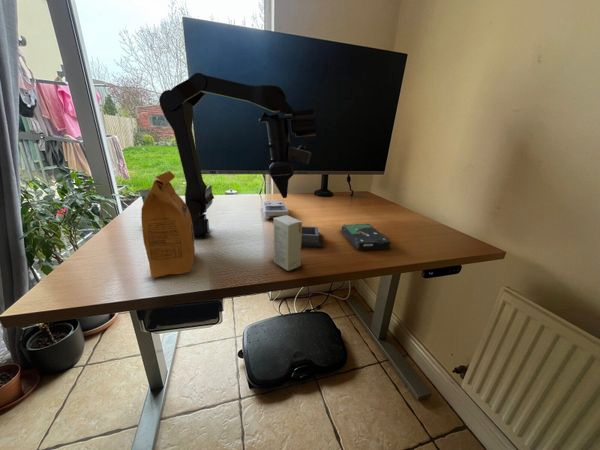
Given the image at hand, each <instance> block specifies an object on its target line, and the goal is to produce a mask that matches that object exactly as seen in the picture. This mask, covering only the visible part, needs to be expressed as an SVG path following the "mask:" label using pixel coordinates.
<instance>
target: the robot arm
mask: <svg viewBox="0 0 600 450" xmlns="http://www.w3.org/2000/svg"><path fill="white" fill-rule="evenodd" d="M207 94H211V95H215V96H220V97H223V98H224V97H225V98H229V99H233V100H238V101H243V102H247V103H251V104H253V105H256V106H257V107H259V108H262V109H264V110H267V111H269V112H270V113H271V112H272V113H275V114H267V112H265V111H264V112H263V113H262V115H261V117H260V118H259V119H258V122H259V123H266V127H267V137H268V148H269V155H270V165H269V167H268V171H269V176H270V178H271V180H272V181H273V183H274V184H275V186H276V188H277V190H278V192H279V194H280V195H281V197H282V198H283V199H287V198H288V191H289V190H288V189H289V180H290V179H291V178H292V177H293V176H294V174H295V173H294V172H295V171H294V163H293V162H294V161H296V162H299V163H300V162H301V163H303V164H305V165H309V163H310V159H311V156H312V152H311V151H309V150H307V148H306V146H303V145H299V146H298V147H293V146H292V142H291V140H290V133H291V134H292V135H293V134H294V136H295V138H301V137H302V138H304V137H315V136H317V120H316V116H315V109H314V108H312V107H311V108H307V109H300V110H299V109H298V110H294V109H293V106H291V105H290V104H289V103H288V101H287V99H286V94H285V91H284V90H283V88H282V87H280V86H278V85H274V84H256V85H255V84H254V85H252V84H251V85H250V84H245V83H241V82H238V81H237V82H236V81H232V80H228V79H224V78H220V77H214V76H211V75H206V74H204V73H201V72H194V73H193V74H192V75H191V76H189V78H187V79H186V80H183V81H182V82H180V83H178V84H176V85H175V86H174V87H173V88H171V89H167V90H164V91H162V93H161V94H160V95H159V97H158V103H159V106H160V109H161V111H162V114H163V116H164V119H165V120H166V122H167V123H168V125H169V126H170V128H171V129H172V131H173V135H174V139H175V142H176V147H177V152H178V155H179V159H180V163H181V167H182V171H183V175H184V179H185V192H184V202H185V204H186V205H187V207H188V210H189V212H190V215H191V219H192V225H193V230H194V239H206V238H207V236H208V234H209V233H210V223H209V221H210V220H209V218H207V214H206V213H207V211H208V209H209V208H210V207H211V206H212V204H213V200H214V199H215V196H214V193H213V187H212V185H210V184H209V185H207V184H206V183H205V181H204V179H203V174H202V170H201V165H200V162H199V161H200V159H199V157H198V152H197V147H196V143H195V138H194V133H193V123H194V107H195V106H197V105H198V104H199V103H200V102H201V100H203V98H204V97H205V96H206V95H207ZM279 113H281V114H283V115H284V116H288V117H280V115H279ZM289 116H291V117H289ZM289 123H290V130H289ZM290 131H291V132H290Z"/></svg>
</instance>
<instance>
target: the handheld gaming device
mask: <svg viewBox="0 0 600 450" xmlns="http://www.w3.org/2000/svg"><path fill="white" fill-rule="evenodd" d="M262 211H263V217H264V219H265V220H269V219H274V218H276V217H281V216H286V215H288V216H289V213H290V212H289V210H288V208H287V206H286V204H285V202H284V200H267V201H264V202H263V203H262Z"/></svg>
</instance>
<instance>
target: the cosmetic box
mask: <svg viewBox="0 0 600 450" xmlns="http://www.w3.org/2000/svg"><path fill="white" fill-rule="evenodd" d="M302 226H303V221H301V220H300V219H298V218H295V217H293V216H290V215H289V214H288V215H286V216H281V217H276V218H273V262H274V263H275V264H276V265H278V266H279V267H281V268H282V269H284V270H285V271H287V272H290V271H292V270H294V269H298V268H299V267H301V261H302V247H301V239H302Z"/></svg>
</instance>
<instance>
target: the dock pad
mask: <svg viewBox="0 0 600 450" xmlns="http://www.w3.org/2000/svg"><path fill="white" fill-rule="evenodd" d="M301 248H311V249H312V248H315V249H322V248H323V245H322V238H321V233H320V232H319V227H318V226H307V225H306V226H305V225H302V239H301Z"/></svg>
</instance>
